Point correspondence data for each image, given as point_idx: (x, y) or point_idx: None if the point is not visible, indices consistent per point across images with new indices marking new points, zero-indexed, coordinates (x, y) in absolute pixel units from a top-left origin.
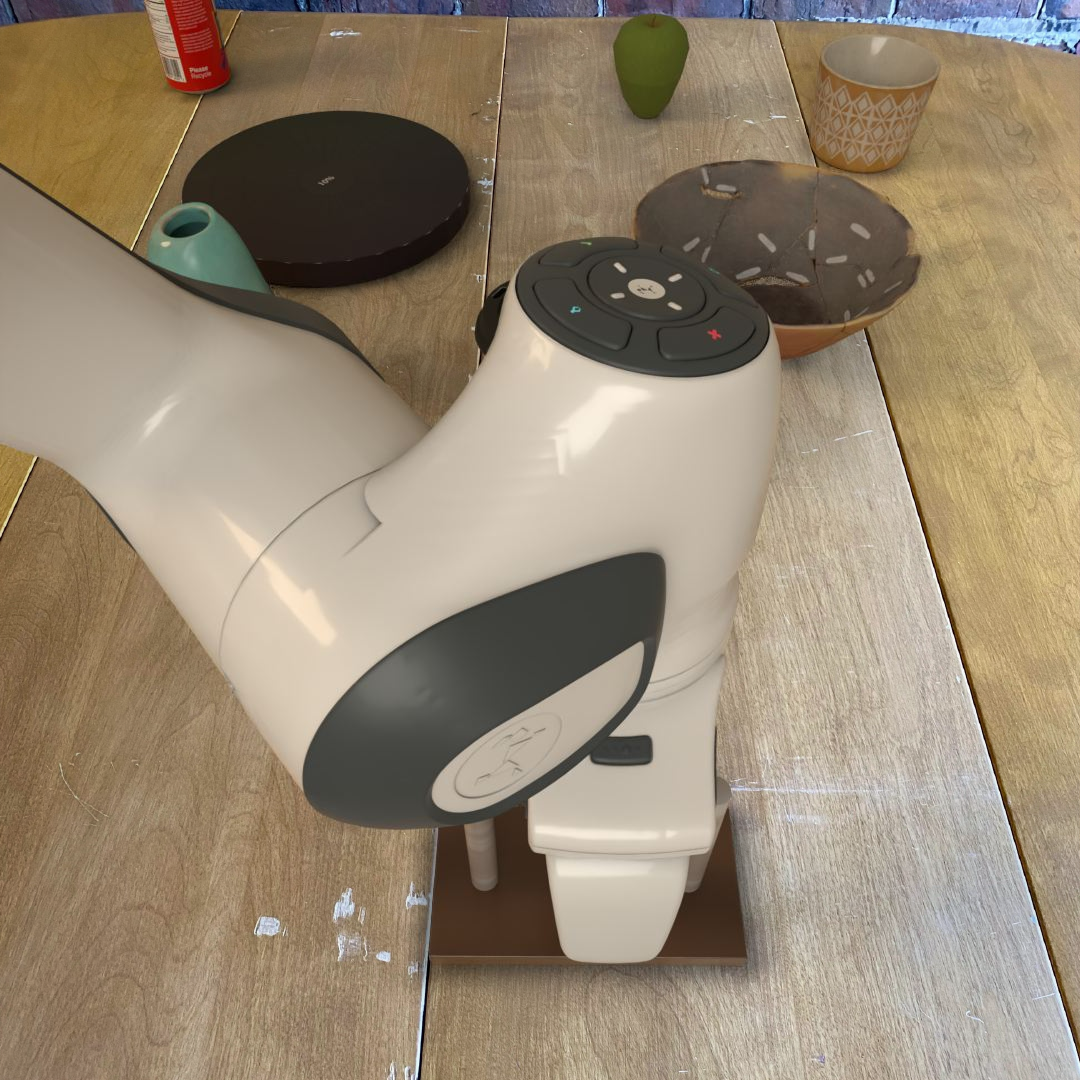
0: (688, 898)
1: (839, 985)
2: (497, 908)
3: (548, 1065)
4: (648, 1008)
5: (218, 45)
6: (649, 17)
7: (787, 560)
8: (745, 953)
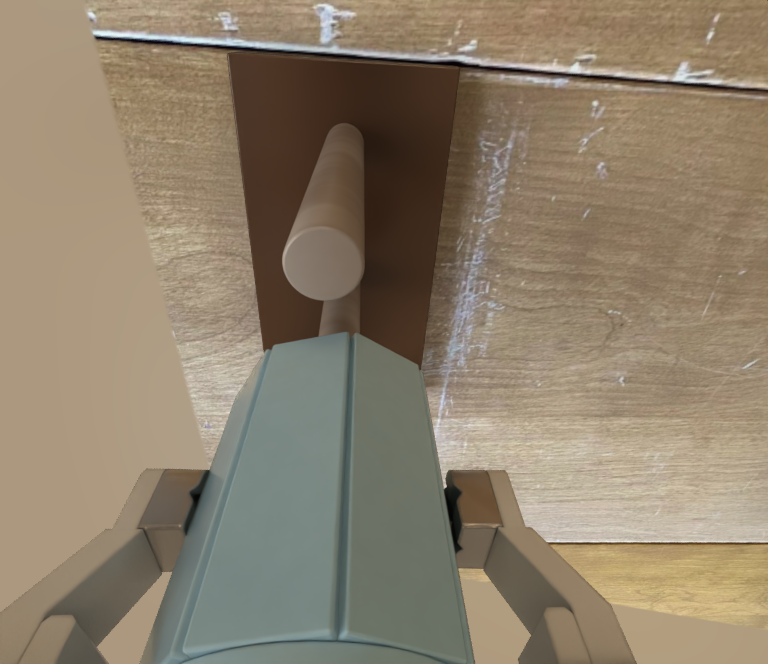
0: None
1: None
2: (303, 161)
3: (146, 210)
4: (224, 310)
5: None
6: None
7: (673, 462)
8: None
